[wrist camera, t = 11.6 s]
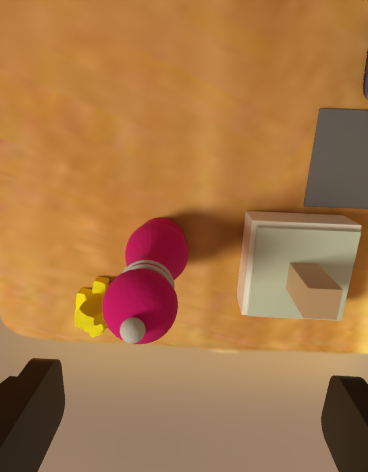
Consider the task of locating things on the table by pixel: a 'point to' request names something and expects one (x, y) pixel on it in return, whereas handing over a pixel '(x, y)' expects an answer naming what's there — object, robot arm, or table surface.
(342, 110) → the mat
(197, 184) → the table surface
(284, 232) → the lid
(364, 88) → the flask
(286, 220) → the dish
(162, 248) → the pepper mill
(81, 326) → the yellow lumpy cluster
